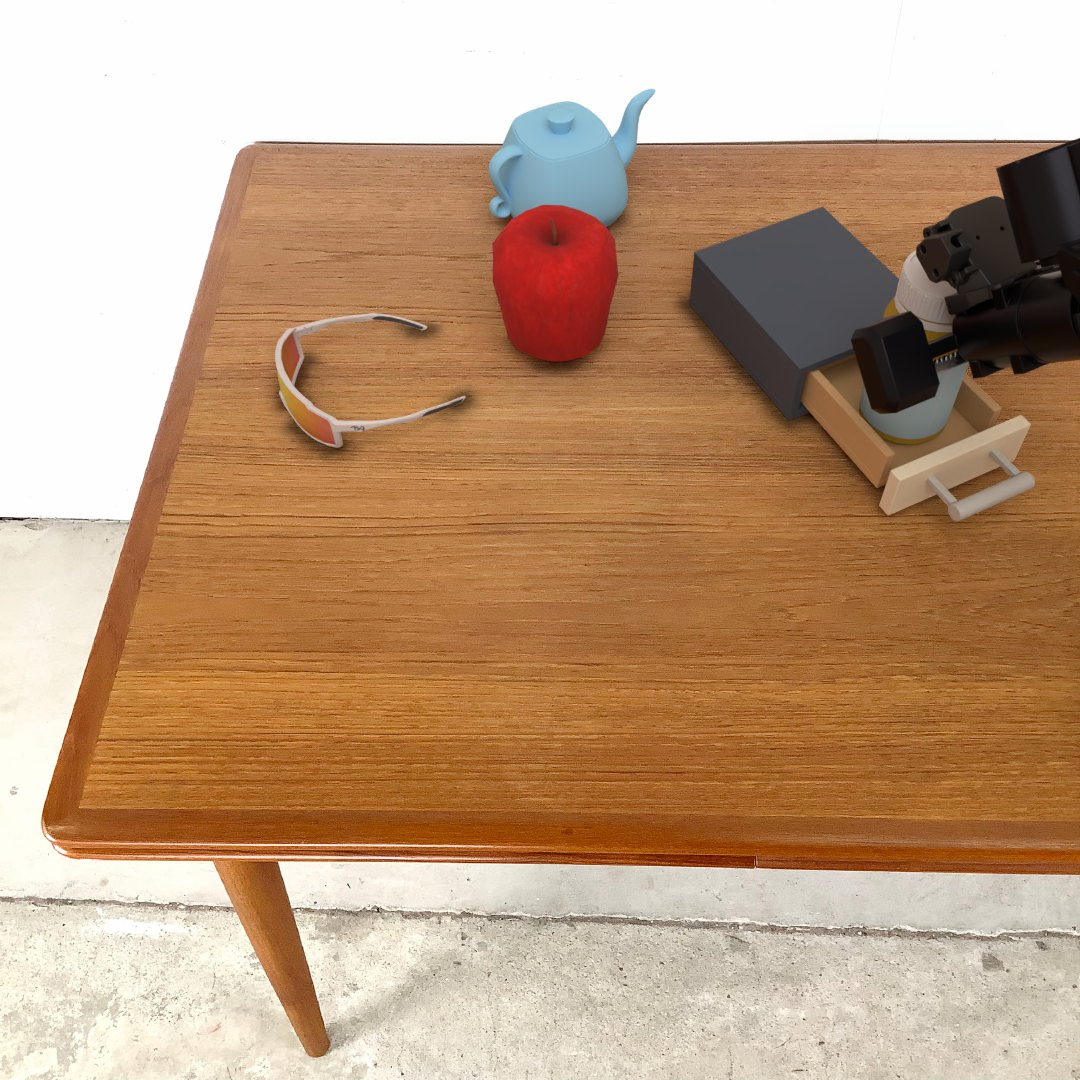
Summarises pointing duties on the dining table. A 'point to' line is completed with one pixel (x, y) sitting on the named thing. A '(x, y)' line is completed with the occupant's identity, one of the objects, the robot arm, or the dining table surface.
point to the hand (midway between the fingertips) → (908, 341)
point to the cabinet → (790, 299)
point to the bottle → (937, 322)
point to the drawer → (922, 444)
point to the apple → (555, 281)
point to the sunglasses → (303, 410)
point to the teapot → (566, 161)
